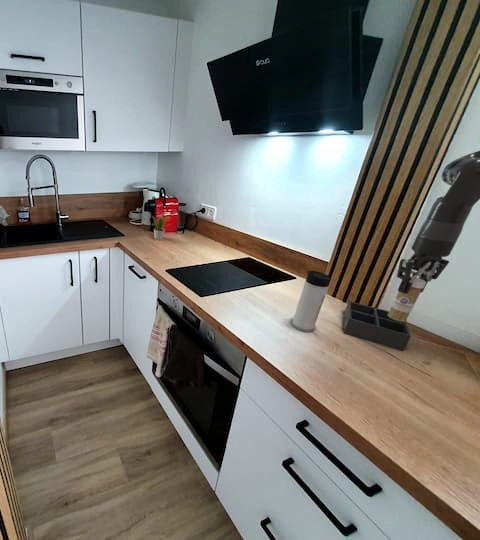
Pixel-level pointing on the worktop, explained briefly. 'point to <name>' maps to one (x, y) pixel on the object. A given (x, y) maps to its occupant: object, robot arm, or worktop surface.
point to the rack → (375, 326)
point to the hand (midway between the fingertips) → (409, 291)
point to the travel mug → (311, 301)
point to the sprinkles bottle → (406, 301)
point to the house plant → (159, 227)
